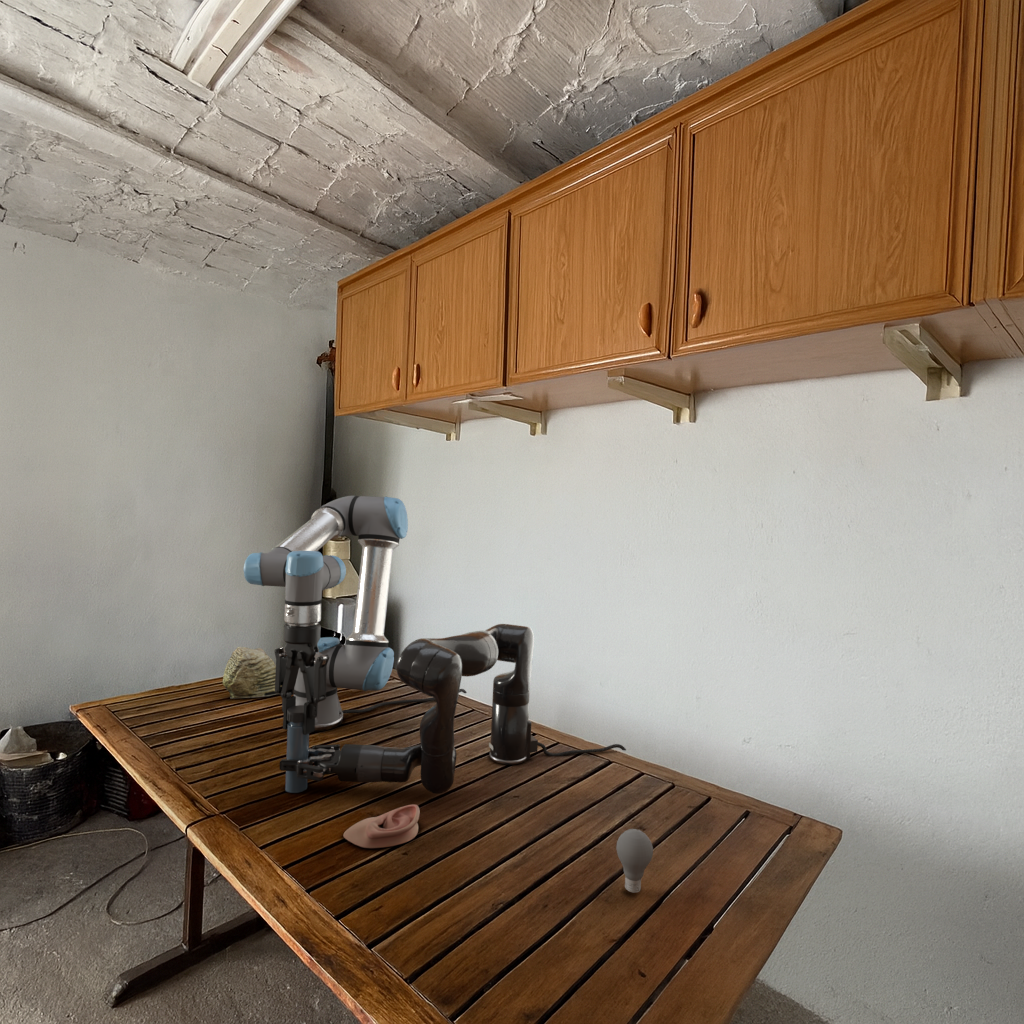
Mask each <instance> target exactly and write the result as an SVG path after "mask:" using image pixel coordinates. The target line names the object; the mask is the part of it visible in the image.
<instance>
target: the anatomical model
mask: <svg viewBox="0 0 1024 1024" xmlns="http://www.w3.org/2000/svg"><path fill="white" fill-rule="evenodd" d="M420 814H421V813H420V807H419V805H417V804H408V805H404V806H400V807H397V808H395V809H392V810H390V811H388V812H385V813H383V814H380V815H378V816H372V817H367V818H364V819H361V820H360V821H358V822H356V823H354V824H353V825H351V826H350V827H348V828H347V829H346V830H345V831H344V833H343V835H342V836H343V838H344V839H345V840H346V841H348V842H349V843H352V844H353V845H355V846H358V847H360V848H364V849H380V848H388V847H395V846H399V845H402V844H405V843H407V842H410V841H412V840H414V839H415V838H416V836H417V835H418V832H419V823H418V821H419V819H420Z"/></svg>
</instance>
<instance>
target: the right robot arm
mask: <svg viewBox="0 0 1024 1024" xmlns="http://www.w3.org/2000/svg"><path fill="white" fill-rule="evenodd" d="M534 650H535V633H534V631H533V629H532V627H530V626H525V625H520V624H519V625H518V624H509V623H497V624H495V625H492V626H491V627H489V628H487V629H485V630H475V631H470V632H465V633H461V634H458V635H457V634H455V635H451V636H447V637H446V636H445V637H441V638H440V637H437V638H435V637H434V638H433V637H432V638H431V637H422V638H418V639H416V640H413V641H412V642H410V643H409V644H408V645H406V646H405V647H404V649H403V650H402V651H401V652H400V655H399V656H398V658H397V661H396V674H397V677H398V678H399V680H400V681H401V682H402V683H403V684H405V686H408V687H410V688H412V689H413V690H416V691H418V692H420V693H422V694H424V695H426V696H428V697H430V698H435V704H434V705H432V706H431V707H430V708H429V709H428V710H427V711H426V712H425V713H424V715H423V716H422V718H421V720H420V723H419V743H420V744H416V745H412V746H407V747H394V746H393V747H389V746H381V745H376V744H375V745H373V744H356V743H355V744H354V743H345V744H344V745H343V746H342V747H341V745H340V744H339V743H337V744H336V743H335V744H320V745H317V744H316V745H313V746H312V747H311V748H309V757H308V759H305V760H293V759H286V758H282V759H281V760H280V761H279V768H278V769H279V770H280V771H281V772H286V771H297V777H300V778H305V779H308V780H310V781H311V780H312V781H316V782H321V781H323V780H324V776H325V775H326V776H328V775H334V774H335V775H337V779H338V780H339V781H340V782H347V783H369V784H370V783H371V784H372V783H397V784H398V783H400V784H401V783H402V784H403V783H406V782H408V781H409V780H410V778H411V776H412V773H413V771H414V770H415V769H416V768H418V767H420V782H421V784H422V786H423V787H424V790H426V791H427V792H429V793H431V794H434V795H440V794H444V793H446V792H447V791H449V790H450V789H451V788H452V786H453V784H454V781H455V776H456V775H455V774H456V766H457V764H456V763H457V754H458V753H457V750H456V747H455V715H456V710H457V705H458V700H459V695H460V693H459V689H461V683H462V677H475V676H478V675H481V674H484V673H486V672H488V671H490V670H491V669H492V668H493V667H494V666H495V665H496V664H497V661H498V662H503V663H505V662H506V663H512V664H514V668H513V670H511V671H508V672H502V673H499V674H497V675H496V676H494V677H493V681H492V700H491V701H492V702H491V703H492V704H491V705H492V706H491V725H490V741H489V742H488V747H489V759H490V760H491V761H493V762H495V763H497V764H501V765H508V766H509V765H519V764H523V763H525V762H526V761H528V760H529V761H530V760H531V754H532V753H537V752H538V747H540V748H541V749H542V752H543V754H544V755H545V756H547V757H563V756H568V755H576V754H577V755H578V754H594V753H595V754H596V753H603V752H606V751H609V750H612V749H617V748H618V749H620V750H622V751H627V749H626V747H625V746H623V745H622V744H619V743H614V744H611V745H608V746H605V747H601V748H590V749H589V748H588V749H573V750H566V751H562V752H557V753H554V752H549V751H547V747H546V745H545V744H544V743H542V742H539V741H538V739H537V738H536V737H535V736H533V735H532V721H531V719H529V718H530V717H529V716H530V693H531V692H530V691H531V680H532V672H533V660H534V659H533V658H534ZM307 764H308V765H307Z"/></svg>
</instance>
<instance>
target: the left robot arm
mask: <svg viewBox="0 0 1024 1024" xmlns="http://www.w3.org/2000/svg"><path fill="white" fill-rule="evenodd" d="M408 531H409V519H408V513H407V508H406V505H405V503H404V501H402V499H400V498H398V497H392V496H391V497H390V496H367V495H346V496H342V497H339V498H336V499H334V500H331V501H329V502H327V503H326V504H323V505H321V507H319V508H318V509H316V510H315V511H314V512H313V513H312V515H311V516H310V519H309V520H308V521H307V522H306V523H303V524H302V525H301V526H300V527H299V528H297V529H296V530H295V531H294V532H292V533H291V534H290V535H289V536H287V537H286V538H284V539H282V541H281V542H280V543H278V544H276V545H275V546H274V547H273V548H272V549H270V550H269V551H268V552H262V551H260V552H252V553H250V554H248V556H247V557H246V558H245V560H244V564H243V576H244V579H245V581H246V582H247V583H248V584H249V585H253V586H254V585H255V586H261V587H281V588H282V587H283V588H284V587H285V590H284V591H285V596H284V597H285V599H284V619H283V620H284V622H285V624H284V626H283V641H284V642H285V645H284V646H281V647H276V648H275V649H274V655H275V665H276V674H275V693H276V695H280V697H281V711H282V713H283V716H282V717H283V719H282V721H283V722H282V724H283V725H282V729H283V730H287V727H288V723H289V721H288V720H287V709H288V708H290V707H292V706H297V705H304V715H303V734H304V735H306V734H309V735H310V734H312V733H316V732H325V731H329V730H332V729H335V728H337V727H339V726H340V725H342V723H343V722H344V715H345V714H362V713H363V714H364V713H367V712H370V711H373V710H374V709H377V708H380V707H385V706H390V705H401V704H410V703H411V704H413V703H425V702H426V703H427V702H434V701H435V702H436V700H435V698H434V697H428V698H412V699H400V700H390V701H384V702H380V703H376V704H374V705H371V706H369V707H366V708H362V709H342V706H341V702H340V699H339V695H338V689H346V690H358V691H364V692H368V691H370V692H371V691H373V692H374V691H375V692H377V691H380V690H382V689H383V688H384V687H385V686H386V685H387V684H388V682H389V680H390V677H391V675H392V671H393V668H394V662H395V657H394V656H395V652H394V650H393V649H392V648H391V647H389V639H387V637H386V636H385V627H386V618H387V608H388V600H389V592H390V591H389V590H390V581H391V571H392V563H393V555H394V554H393V551H394V550H395V549H396V548H397V547H399V546H400V540H403V539H405V538H406V537H407V535H408V534H407V533H408ZM341 536H355V537H357V543H359V545H360V546H361V547H362V549H361V556H360V565H359V575H358V582H357V591H356V600H355V608H354V617H353V625H352V632H351V634H349V635H348V636H347V637H346V638H345V644H341V641H340V639H339V638H338V637H334V636H325V637H321V629H322V627H321V626H322V625H321V624H320V622H321V620H322V598H323V597H322V596H323V594H322V593H323V591H326V590H328V589H329V590H330V589H333V588H335V587H337V586H338V585H340V584H341V583H342V582H343V581H344V580H345V578H346V575H347V567H346V565H345V563H344V561H343V560H342V559H341V558H340V557H339V556H337V555H333V554H332V555H331V554H330V555H328V554H326V555H323V554H322V553H321V552H320V551H319V550H320V549H322V548H323V547H324V546H325V545H326V544H327V543H328V542H329V541H333V540H337V539H338V538H339V537H341ZM281 686H282V687H281ZM278 693H279V694H278ZM460 693H463V694H467V693H468V692H467V691H466V690H465V689H464V688H460V689H459V694H460Z"/></svg>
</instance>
